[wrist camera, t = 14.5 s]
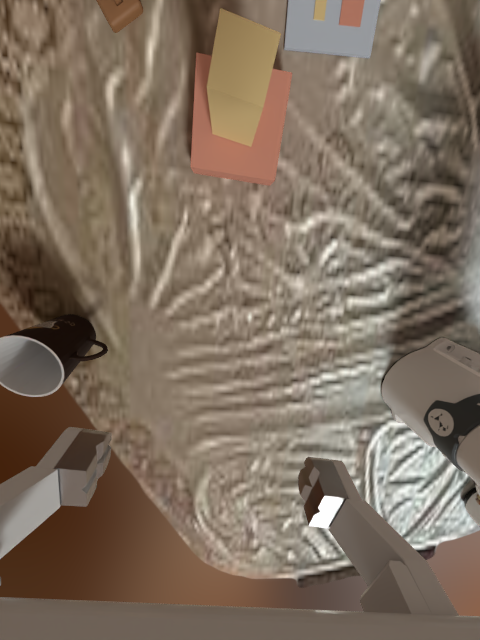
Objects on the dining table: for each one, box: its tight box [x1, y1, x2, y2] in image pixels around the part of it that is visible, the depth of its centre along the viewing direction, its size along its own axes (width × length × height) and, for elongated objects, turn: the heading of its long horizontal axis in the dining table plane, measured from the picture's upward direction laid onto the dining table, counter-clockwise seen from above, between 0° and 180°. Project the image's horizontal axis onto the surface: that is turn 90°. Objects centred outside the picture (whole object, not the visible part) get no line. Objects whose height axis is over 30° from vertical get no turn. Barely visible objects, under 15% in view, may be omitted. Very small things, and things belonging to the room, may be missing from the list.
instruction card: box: [284, 0, 381, 58], centre depth 26 cm, size 10×7×1 cm
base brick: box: [191, 53, 292, 185], centre depth 28 cm, size 10×10×4 cm
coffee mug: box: [0, 314, 108, 397], centre depth 34 cm, size 12×9×10 cm
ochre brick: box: [207, 8, 281, 147], centre depth 22 cm, size 4×4×9 cm
